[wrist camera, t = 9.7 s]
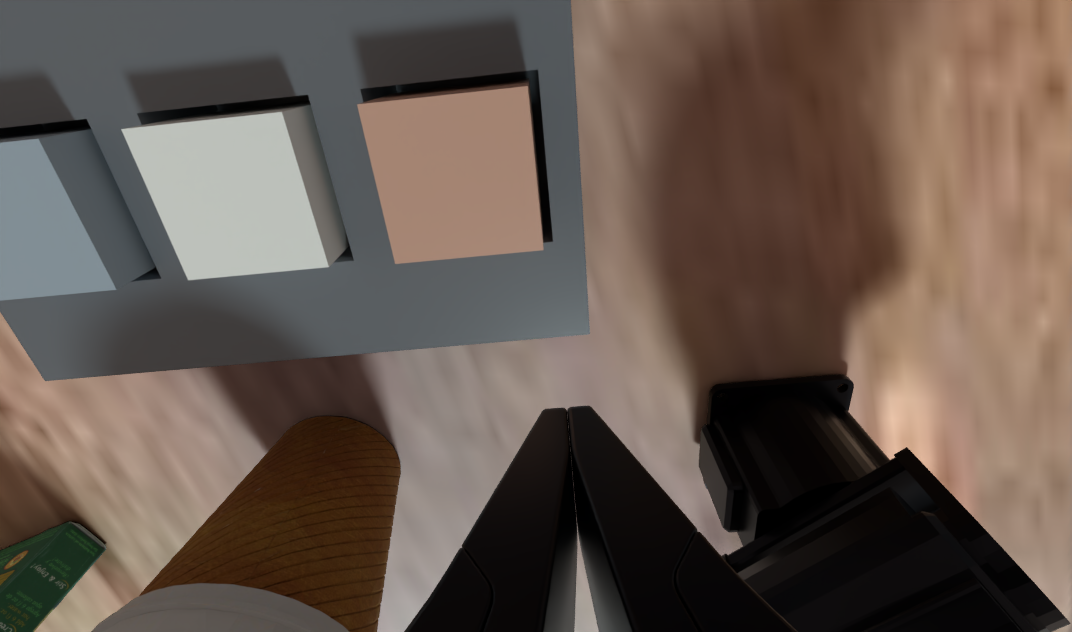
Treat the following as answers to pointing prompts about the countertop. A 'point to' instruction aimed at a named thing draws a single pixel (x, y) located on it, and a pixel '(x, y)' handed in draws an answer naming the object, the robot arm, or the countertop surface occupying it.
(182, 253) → the pale key
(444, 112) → the rust key
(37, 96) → the key panel
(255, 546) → the disposable coffee cup
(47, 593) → the coffee box
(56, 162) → the slate key
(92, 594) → the countertop surface
